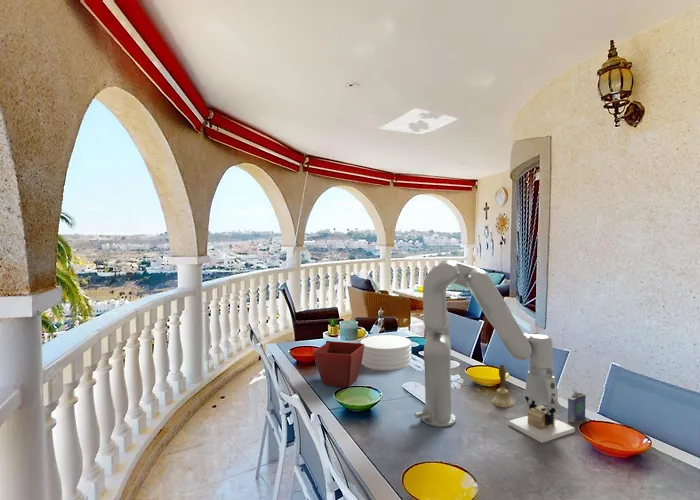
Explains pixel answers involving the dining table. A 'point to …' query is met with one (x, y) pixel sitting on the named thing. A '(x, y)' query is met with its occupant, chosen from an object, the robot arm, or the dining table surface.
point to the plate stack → (386, 352)
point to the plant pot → (339, 362)
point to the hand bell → (502, 391)
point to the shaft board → (542, 434)
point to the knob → (538, 417)
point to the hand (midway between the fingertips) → (541, 419)
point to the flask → (576, 407)
